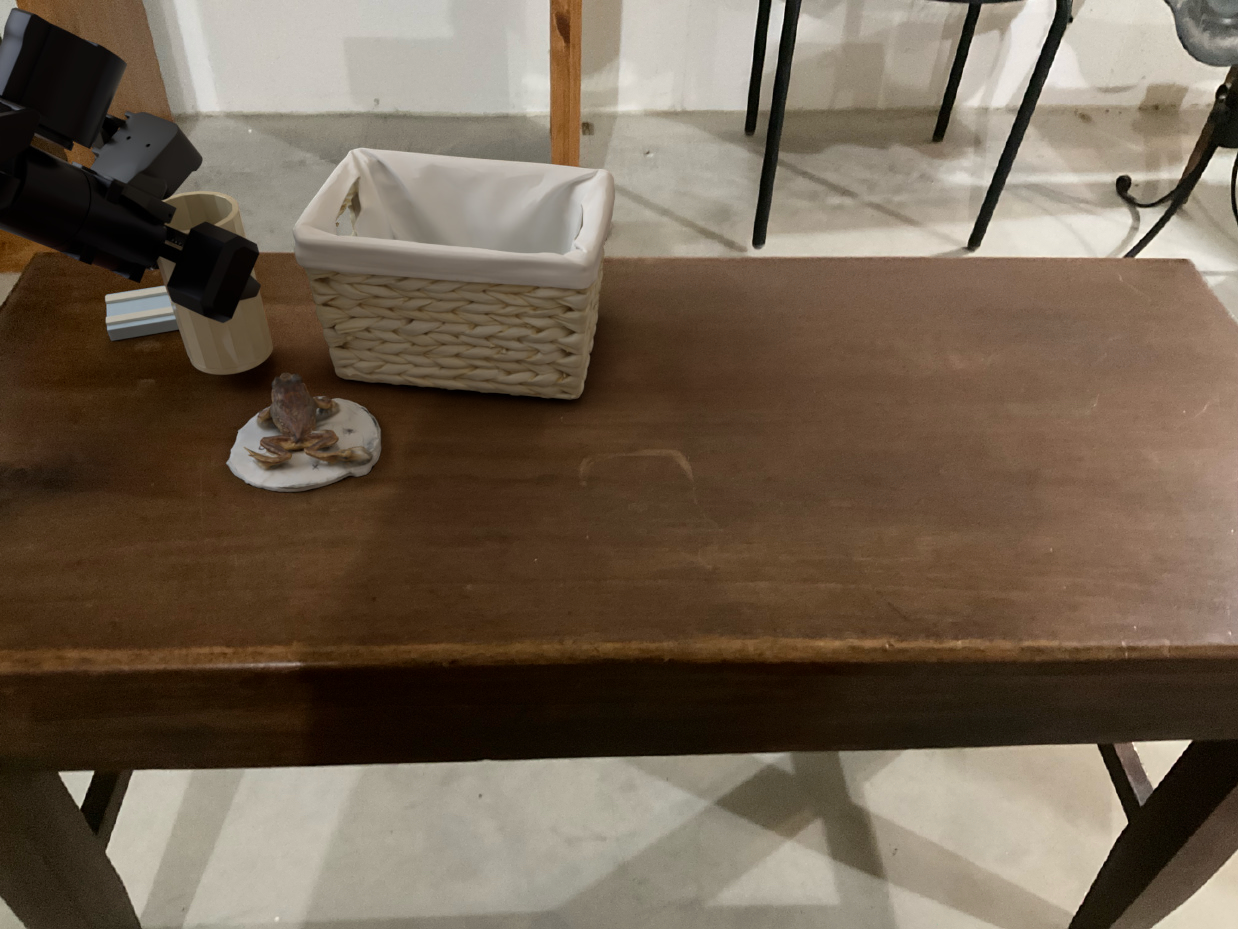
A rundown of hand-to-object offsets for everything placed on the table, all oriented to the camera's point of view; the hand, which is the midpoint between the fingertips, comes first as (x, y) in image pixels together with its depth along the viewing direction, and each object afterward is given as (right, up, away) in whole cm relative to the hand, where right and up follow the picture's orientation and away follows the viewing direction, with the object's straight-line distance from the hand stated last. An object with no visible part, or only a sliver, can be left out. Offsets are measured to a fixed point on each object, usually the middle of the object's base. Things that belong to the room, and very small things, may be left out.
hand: (226, 276), depth 78 cm
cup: (-1, -6, +4) cm, 7 cm away
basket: (+19, -5, +9) cm, 21 cm away
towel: (-10, -1, +11) cm, 14 cm away
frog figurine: (+7, -14, -1) cm, 15 cm away
